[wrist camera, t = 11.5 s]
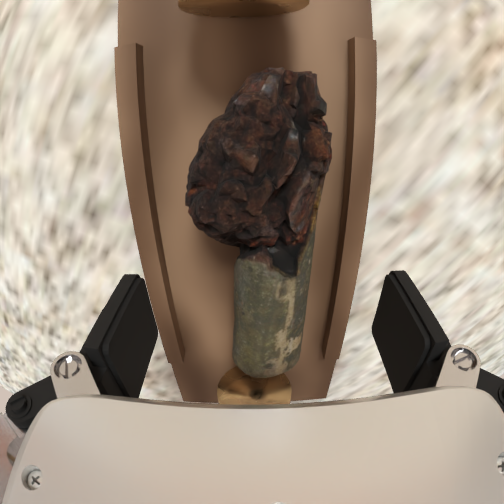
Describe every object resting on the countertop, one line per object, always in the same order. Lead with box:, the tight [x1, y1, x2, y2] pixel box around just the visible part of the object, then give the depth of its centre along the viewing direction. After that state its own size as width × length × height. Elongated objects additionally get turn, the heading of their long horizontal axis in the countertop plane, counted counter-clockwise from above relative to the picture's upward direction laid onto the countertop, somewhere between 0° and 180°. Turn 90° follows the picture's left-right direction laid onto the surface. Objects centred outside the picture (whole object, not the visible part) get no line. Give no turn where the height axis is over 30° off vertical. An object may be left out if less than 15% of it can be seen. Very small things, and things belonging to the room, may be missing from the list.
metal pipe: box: [185, 67, 332, 378], centre depth 16 cm, size 18×7×6 cm, turn 179°
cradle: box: [115, 0, 377, 403], centre depth 18 cm, size 14×37×3 cm, turn 1°
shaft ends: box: [178, 0, 309, 405], centre depth 16 cm, size 6×35×6 cm, turn 1°
